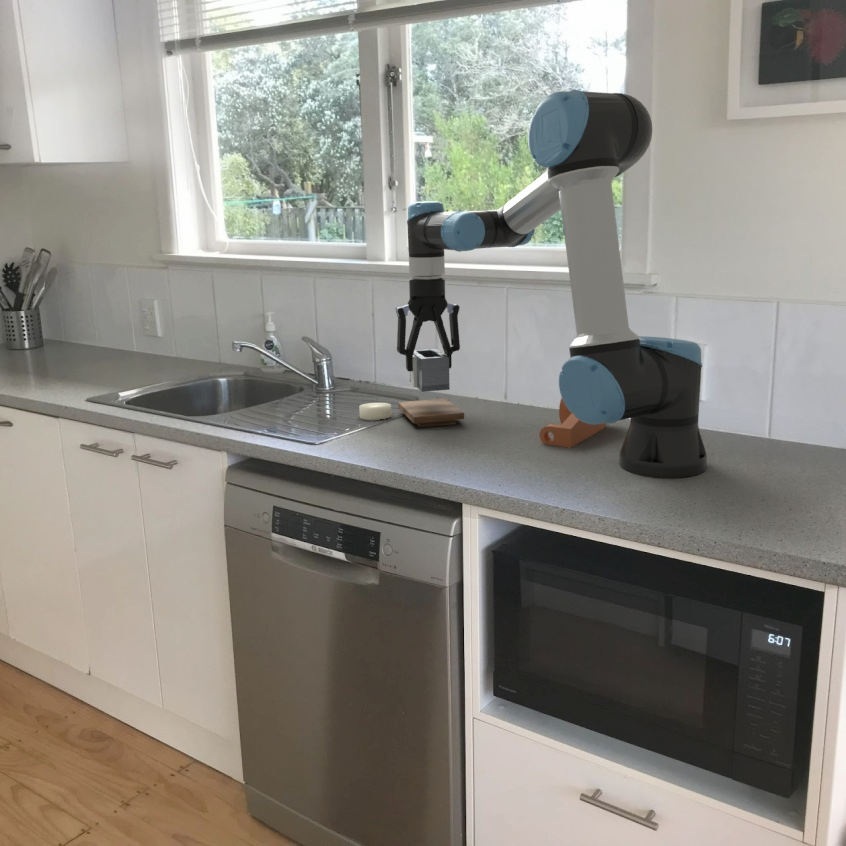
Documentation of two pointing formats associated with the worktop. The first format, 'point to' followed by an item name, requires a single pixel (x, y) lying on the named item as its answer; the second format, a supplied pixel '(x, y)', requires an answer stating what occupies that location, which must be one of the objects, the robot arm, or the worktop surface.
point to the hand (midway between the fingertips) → (429, 384)
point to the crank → (568, 429)
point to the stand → (431, 412)
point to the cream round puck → (375, 411)
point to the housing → (432, 370)
